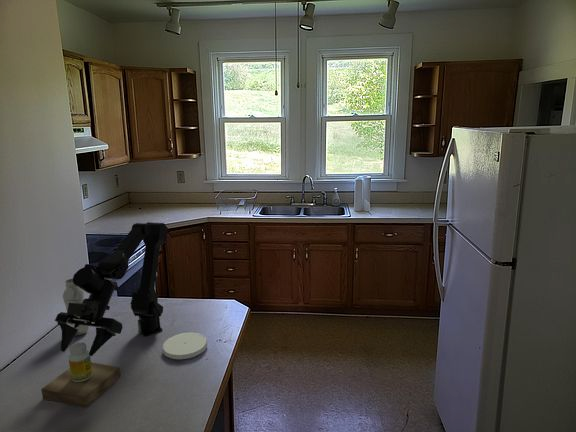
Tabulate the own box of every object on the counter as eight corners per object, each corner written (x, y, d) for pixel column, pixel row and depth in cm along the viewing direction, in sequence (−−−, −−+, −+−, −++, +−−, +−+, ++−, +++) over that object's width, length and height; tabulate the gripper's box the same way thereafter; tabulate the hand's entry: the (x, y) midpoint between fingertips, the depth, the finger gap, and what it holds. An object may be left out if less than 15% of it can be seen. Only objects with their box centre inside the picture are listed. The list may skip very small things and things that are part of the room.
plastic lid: (155, 351, 134) (154, 344, 134) (191, 334, 144) (191, 328, 144) (178, 367, 125) (178, 360, 124) (215, 349, 135) (215, 342, 134)
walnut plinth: (80, 369, 124) (79, 360, 124) (120, 375, 121) (119, 366, 120) (42, 398, 111) (41, 389, 111) (86, 407, 108) (84, 397, 107)
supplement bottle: (75, 372, 118) (70, 342, 116) (95, 370, 119) (91, 340, 116) (68, 384, 113) (64, 352, 110) (89, 381, 113) (85, 350, 111)
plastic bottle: (81, 338, 142) (73, 284, 138) (64, 337, 144) (55, 283, 139) (93, 329, 148) (86, 277, 144) (76, 328, 150) (69, 276, 145)
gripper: (54, 286, 116) (27, 341, 109) (111, 291, 112) (87, 350, 104) (79, 300, 126) (55, 352, 118) (132, 306, 121) (111, 360, 113)
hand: (76, 353), depth 113 cm, fingers open, 9 cm apart
